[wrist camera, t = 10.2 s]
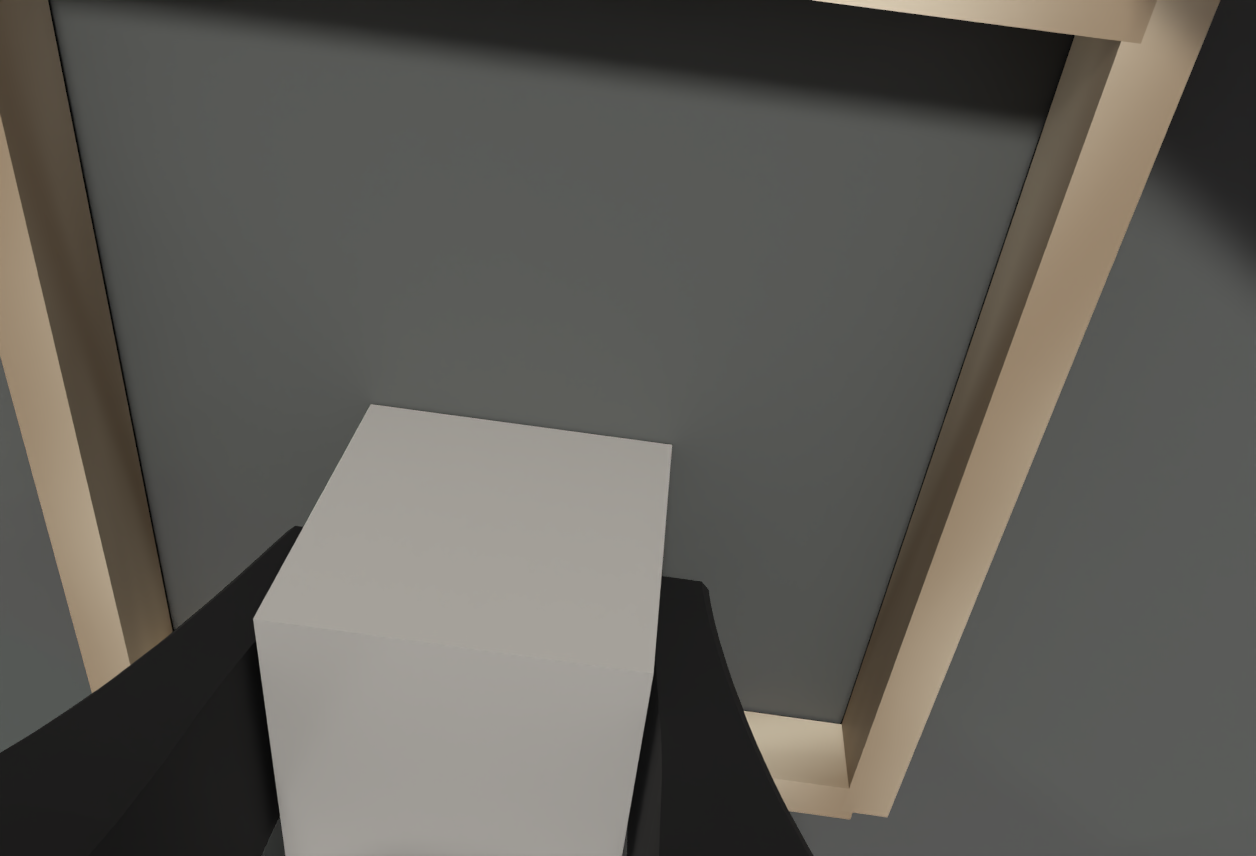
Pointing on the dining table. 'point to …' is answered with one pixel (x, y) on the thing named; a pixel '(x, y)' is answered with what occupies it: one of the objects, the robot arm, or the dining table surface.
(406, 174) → the dining table surface
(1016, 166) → the dining table surface
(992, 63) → the dining table surface
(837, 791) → the parts frame
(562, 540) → the beige grey cube
